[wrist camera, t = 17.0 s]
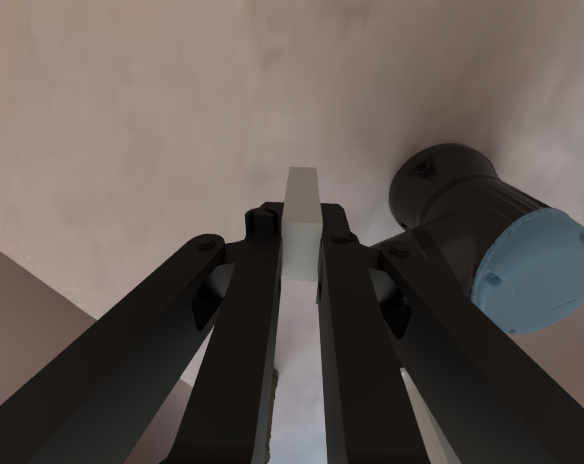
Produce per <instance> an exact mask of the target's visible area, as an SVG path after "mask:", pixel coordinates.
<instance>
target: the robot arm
mask: <svg viewBox="0 0 584 464" xmlns="http://www.w3.org/2000/svg"><path fill="white" fill-rule="evenodd" d="M389 206H390V210H391V213H392V215H393V216H394V218H395V220H396V221H397V223H398V224H399V225H400V226H401V227H402V228H403V229H404V230H405V232H403V233H401V234H398V235H396V236H394V237H391V238H389V239H386V240H384V241H382V242H379V243H377V244H375V245H372V246H370V247H367V246H364V245H362V244H360V243H359V240H358V238H357V236H356V235H355V234H353V233H352V232H350V228H349V225H348V221H347V218H346V215H345V211H344V208H342V207H341V206H340V205H339V204H328V203H320V196H319V189H318V181H317V173H316V168H308V167H289V174H288V181H287V188H286V195H285V202H284V203H283V202H265V203H264V204H262V205H261V206H260V208H255V209H251V210H249V211H247V213H246V214H245V224H246V236H245V239H244V240H241V241H238V242H234V243H227V244H225V242H224V239H223V238H222V237H221V236H219V235H216V234H202V235H199V236H196V237H194V238H192V239H191V240H189V241H188V242H187V243H186V244H185V245H183V246H182V247H181V248H180V249H179V250H178V251H177V252H175V253H174V254H173V255H172V256H171V257H170V258H169V259H167V260H166V261H165V262H164V263H163V264H162V265H161V266H159V267H158V268H157V269H156V270H155V271H154V272H153V273H151V274H150V275H149V276H148V277H147V278H146V279H145V280H143V281H142V282H141V283H140V284H139V285H138V286H137V287H135V288H134V289H133V290H132V291H131V292H130V293H129V294H127V295H126V296H125V297H124V298H123V299H122V300H121V301H119V302H118V303H117V304H116V305H115V306H114V307H113V308H111V309H110V310H109V311H108V312H107V313H106V314H105V315H103V316H102V317H101V318H100V319H99V320H98V321H97V322H95V323H94V324H93V325H92V326H91V327H90V328H89V329H87V330H86V331H85V332H84V333H83V334H82V335H81V336H79V337H78V338H77V339H76V340H75V341H74V342H73V343H71V344H70V345H69V346H68V347H67V348H66V349H65V350H63V351H62V352H61V353H60V354H59V355H58V356H57V357H56V358H54V359H53V360H52V361H51V362H50V363H49V364H48V365H46V366H45V367H44V368H43V369H42V370H41V371H39V372H38V373H37V374H36V375H35V376H34V377H33V378H31V379H30V380H29V381H28V382H27V383H26V384H25V385H23V386H22V387H21V388H20V389H19V390H18V391H17V392H15V394H13V395H12V396H11V397H10V398H9V399H7V400H6V401H5V402H4V403H3V404H2V405H1V406H0V464H123V463H124V462H125V460H126V459H127V457H128V456H129V454H130V452H131V451H132V449H133V448H134V446H135V445H136V443H137V442H138V440H139V439H140V437H141V436H142V434H143V433H144V431H145V430H146V428H147V427H148V425H149V423H150V422H151V421H152V419H153V418H154V416H155V414H156V413H157V411H158V410H159V408H160V407H161V405H162V404H163V402H164V401H165V399H166V398H167V396H168V395H169V393H170V392H171V390H172V389H173V387H174V386H175V384H176V383H177V381H178V380H179V378H180V376H181V375H182V373H183V372H184V370H185V369H186V367H187V366H188V364H189V363H190V361H191V360H192V358H193V357H194V355H195V354H196V352H197V351H198V349H199V348H200V346H201V345H202V343H203V342H204V340H205V338H206V337H207V335H208V334H209V332H210V331H211V329H212V328H213V326H214V325H215V326H214V329H213V332H212V334H211V337H210V340H209V343H208V346H207V349H206V352H205V355H204V358H203V360H202V363H201V366H200V369H199V372H198V375H197V378H196V381H195V384H194V386H193V389H192V392H191V395H190V398H189V401H188V404H187V407H186V410H185V412H184V416H183V418H182V421H181V424H180V427H179V430H178V433H177V436H176V438H175V441H174V444H173V446H172V449H171V451H170V453H169V454H168V456H167V457H166V458H165V459H164V460H163V461H161V462H160V463H159V464H264V455H265V445H266V435H267V425H268V415H269V405H270V395H271V385H272V375H273V365H274V355H275V344H276V334H277V324H278V314H279V304H280V294H281V280H296V281H317V280H318V288H317V298H316V304H318V310H319V327H320V344H321V361H322V377H323V394H324V411H325V428H326V445H327V462H328V464H584V408H583V407H582V406H581V405H580V404H579V403H577V401H576V400H574V399H573V398H572V397H571V396H570V395H569V394H568V393H567V392H566V391H565V390H564V389H563V388H562V387H561V386H560V385H559V384H558V383H557V382H556V381H555V380H553V379H552V378H551V377H550V376H549V375H548V374H547V373H546V372H545V371H544V370H543V369H542V368H541V367H540V366H539V365H538V364H537V363H535V362H534V361H533V359H531V358H530V357H529V356H528V355H527V354H526V353H525V352H524V351H523V350H522V349H521V348H520V347H519V346H518V345H517V344H516V343H515V342H514V341H513V340H511V339H510V338H509V337H508V336H507V335H506V334H505V333H507V332H509V333H511V334H523V333H529V332H533V331H537V330H540V329H543V328H545V327H548V326H550V325H552V324H555V323H557V322H558V321H560V320H562V319H563V318H565V317H566V316H568V315H569V314H571V313H572V312H574V311H575V310H576V309H577V308H579V307H580V306H581V305H582V304H583V303H584V227H583V226H582V225H580V224H579V223H577V222H576V221H575V220H573V219H572V218H570V217H569V215H568V214H566V213H565V212H563V211H561V210H558V209H556V208H552V207H550V206H548V205H546V204H544V203H543V202H541V201H539V200H537V199H535V198H533V197H531V196H530V195H528V194H526V193H524V192H522V191H520V190H518V189H517V188H515V187H513V186H511V185H509V184H507V183H505V182H503V181H502V180H500V178H499V177H498V175H497V174H496V171H495V169H494V167H493V165H492V163H491V162H490V161H489V160H488V158H487V157H485V156H484V155H483V154H482V153H480V152H478V151H476V150H474V149H472V148H470V147H468V146H465V145H461V144H441V145H436V146H433V147H430V148H428V149H425V150H423V151H421V152H419V153H418V154H416V155H415V156H413V157H412V158H411V159H410V160H408V161H407V162H406V163H405V164H404V165H403V166H402V167H401V169H400V170H399V171H398V173H397V174H396V176H395V178H394V180H393V182H392V184H391V187H390V191H389Z"/></svg>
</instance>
